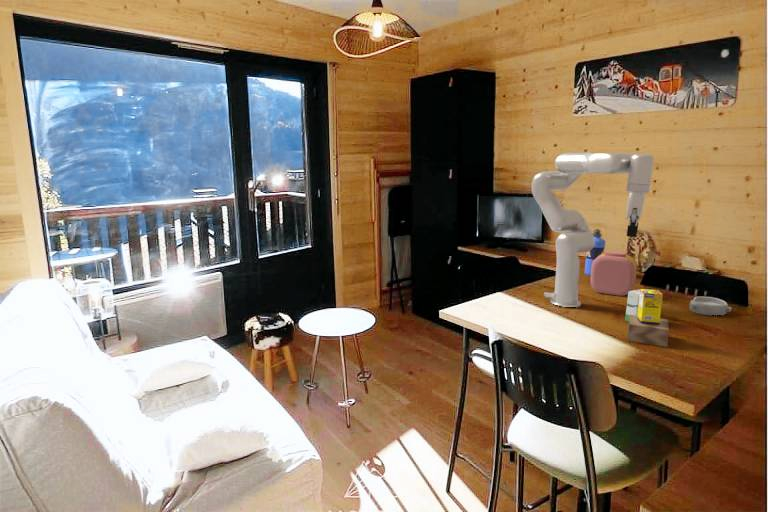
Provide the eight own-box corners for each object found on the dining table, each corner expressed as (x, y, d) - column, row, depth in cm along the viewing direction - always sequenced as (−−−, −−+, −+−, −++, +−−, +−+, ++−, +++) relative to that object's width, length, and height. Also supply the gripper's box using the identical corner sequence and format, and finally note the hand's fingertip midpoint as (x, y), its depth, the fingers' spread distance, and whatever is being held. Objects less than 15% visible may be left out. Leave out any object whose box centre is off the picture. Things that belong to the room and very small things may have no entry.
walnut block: (627, 340, 168) (628, 324, 167) (628, 330, 179) (629, 314, 177) (667, 346, 163) (669, 329, 162) (665, 335, 173) (667, 319, 172)
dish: (689, 314, 198) (691, 302, 197) (685, 305, 210) (687, 294, 210) (732, 319, 192) (734, 307, 191) (725, 309, 204) (727, 298, 203)
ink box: (635, 324, 185) (639, 294, 183) (624, 320, 190) (627, 291, 187) (650, 321, 189) (653, 291, 187) (638, 317, 194) (641, 288, 191)
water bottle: (586, 275, 264) (590, 230, 260) (582, 272, 274) (586, 228, 269) (604, 276, 263) (608, 230, 258) (599, 272, 272) (603, 228, 267)
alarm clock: (634, 293, 230) (638, 252, 226) (632, 298, 221) (636, 256, 217) (592, 287, 240) (596, 249, 236) (588, 292, 230) (592, 252, 227)
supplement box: (659, 325, 166) (663, 294, 164) (640, 323, 168) (643, 292, 166) (655, 319, 172) (658, 289, 170) (636, 318, 173) (639, 288, 171)
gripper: (627, 186, 187) (622, 230, 191) (625, 189, 172) (619, 237, 176) (649, 187, 184) (643, 232, 187) (649, 190, 169) (642, 239, 172)
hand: (631, 234), depth 182 cm, fingers open, 9 cm apart
